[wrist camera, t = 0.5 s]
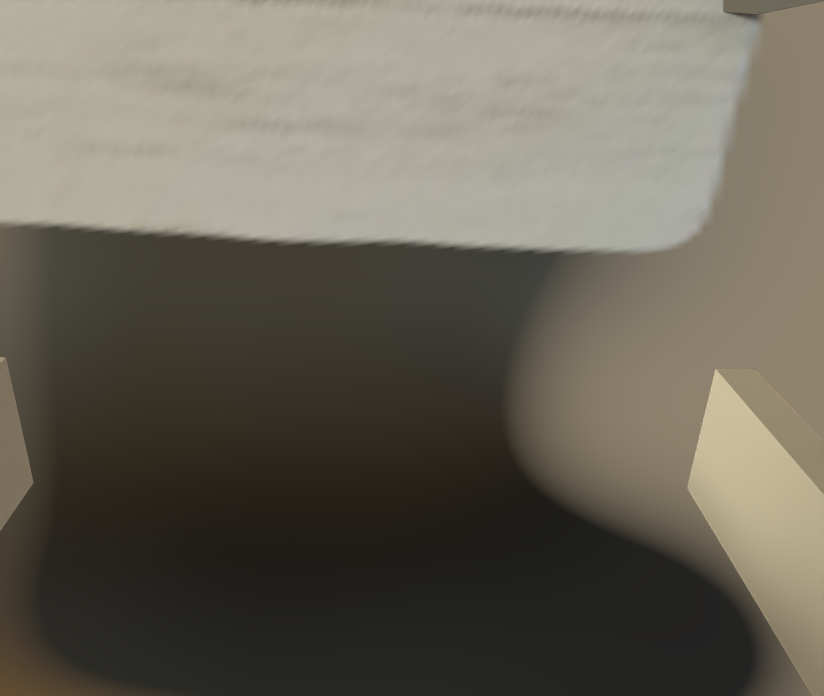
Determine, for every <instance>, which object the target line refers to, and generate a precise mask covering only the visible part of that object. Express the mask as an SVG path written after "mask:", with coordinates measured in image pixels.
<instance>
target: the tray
mask: <svg viewBox="0 0 824 696" xmlns="http://www.w3.org/2000/svg"><path fill="white" fill-rule="evenodd" d="M821 1H824V0H724V12H733V13H747V14H762V13H767V12H772V11H776V10H782V9H787V8H792V7H796V6H801V5H806V4H811V3H816V2H821Z"/></svg>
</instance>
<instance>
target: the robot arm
mask: <svg viewBox="0 0 824 696" xmlns="http://www.w3.org/2000/svg"><path fill="white" fill-rule="evenodd" d="M32 484H33V479H32V474H31V470H30V465H29V461H28V456H27V452H26V448H25V443H24V438H23V434H22V430H21V425H20V420H19V416H18V411H17V407H16V402H15V397H14V394H13V388H12V384H11V379H10V375H9V370H8V366H7V361H6V358H0V530H1V529H2V527H3V526H4V524H5V523H6V522H7V520H8V519H9V517H10V516H11V514H12V513H13V512H14V510H15V508H16V507H17V506H18V504H19V503H20V501H21V500H22V498H23V497H24V495H25V494H26V493H27V491H28V490H29V488H30V487H31V485H32ZM687 488H688V490H689V492H690V493H691V495H692V497H693V498H694V500H695V502H696V503H697V505H698V507H699V508H700V510H701V512H702V513H703V515H704V517H705V518H706V520H707V522H708V523H709V525H710V527H711V528H712V530H713V532H714V533H715V535H716V537H717V538H718V540H719V541H720V543H721V545H722V547H723V548H724V550H725V551H726V553H727V555H728V556H729V558H730V560H731V561H732V563H733V565H734V566H735V568H736V570H737V571H738V573H739V575H740V576H741V578H742V580H743V581H744V583H745V584H746V586H747V588H748V590H749V591H750V593H751V595H752V596H753V598H754V600H755V601H756V603H757V605H758V606H759V608H760V609H761V611H762V613H763V615H764V616H765V618H766V620H767V621H768V623H769V624H770V626H771V628H772V629H773V631H774V633H775V634H776V636H777V638H778V639H779V641H780V643H781V644H782V646H783V648H784V649H785V651H786V653H787V654H788V656H789V658H790V659H791V661H792V662H793V664H794V666H795V668H796V669H797V671H798V672H799V674H800V676H801V678H802V679H803V681H804V683H805V684H806V686H807V688H808V689H809V691H810V693H811V694H812V696H824V441H823V440H822V439H821V438H820V437H819V436H818V435H817V434H816V432H815V431H814V430H813V429H812V428H811V427H810V426H808V424H807V423H806V422H805V421H804V420H803V419H802V418H801V417H800V416H799V415H798V414H797V413H796V412H795V411H794V410H793V409H792V407H790V406H789V404H788V403H787V402H786V401H785V400H784V399H783V398H782V397H781V396H780V395H779V394H778V393H777V392H776V391H775V390H774V389H773V388H772V387H771V386H770V385H769V384H768V382H766V380H765V379H764V378H763V377H762V376H761V375H760V374H759V373H758V372H757V371H756V370H749V369H748V370H747V369H716V370H715V374H714V378H713V383H712V387H711V391H710V395H709V399H708V403H707V408H706V412H705V416H704V420H703V424H702V428H701V432H700V437H699V441H698V445H697V449H696V453H695V458H694V462H693V466H692V470H691V474H690V479H689V483H688V487H687Z"/></svg>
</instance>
